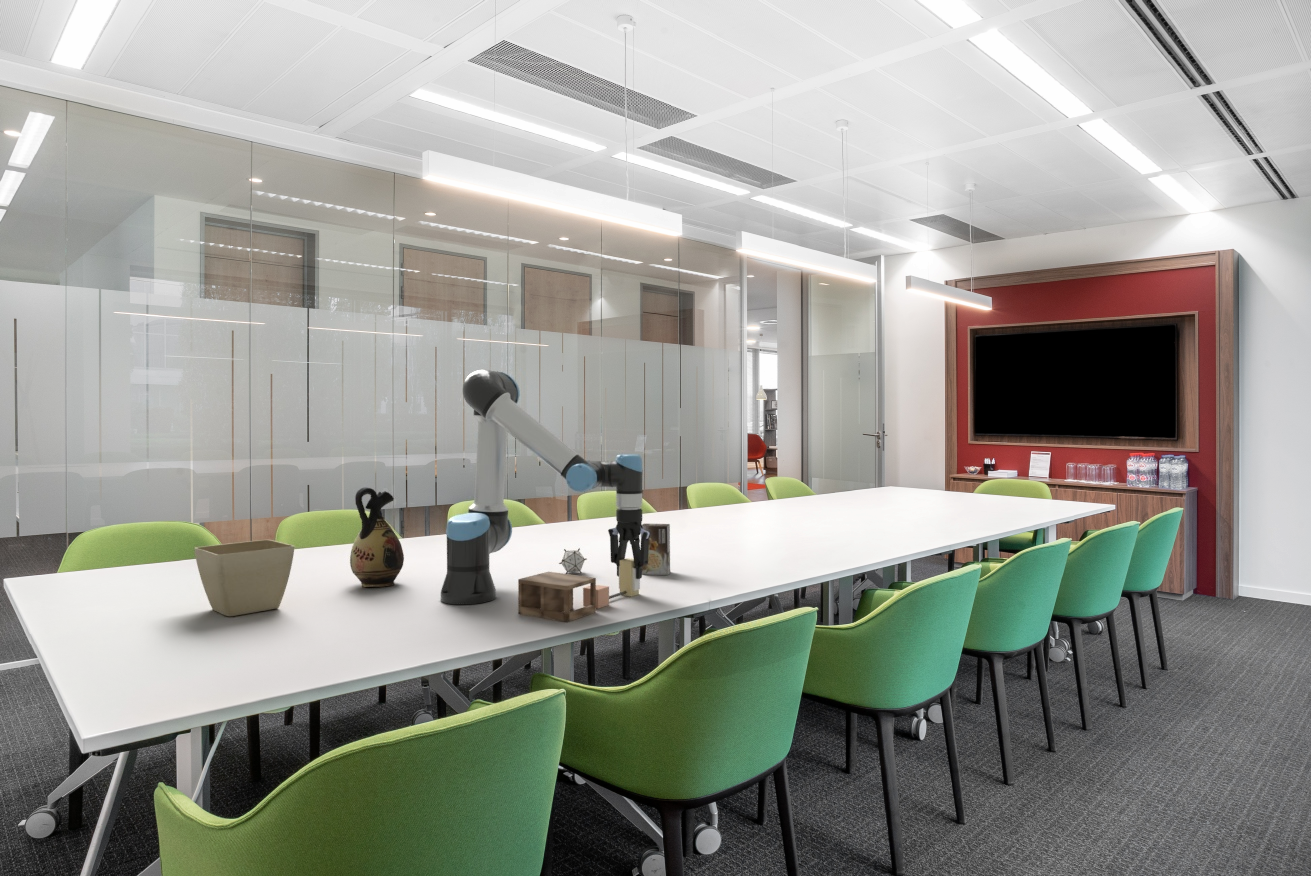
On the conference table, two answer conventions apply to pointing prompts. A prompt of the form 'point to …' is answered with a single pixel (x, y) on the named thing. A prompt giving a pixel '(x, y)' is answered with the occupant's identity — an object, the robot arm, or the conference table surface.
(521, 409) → the robot arm
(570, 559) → the game die
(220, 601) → the flower pot
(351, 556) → the ceramic jug
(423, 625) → the conference table surface
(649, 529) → the coffee box
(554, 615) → the shelf
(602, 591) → the block
